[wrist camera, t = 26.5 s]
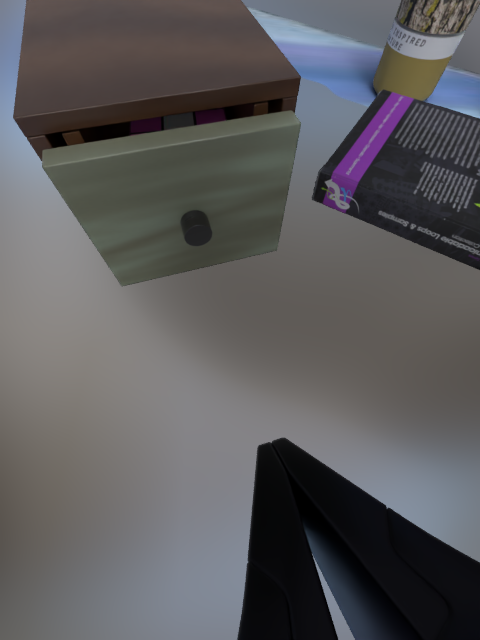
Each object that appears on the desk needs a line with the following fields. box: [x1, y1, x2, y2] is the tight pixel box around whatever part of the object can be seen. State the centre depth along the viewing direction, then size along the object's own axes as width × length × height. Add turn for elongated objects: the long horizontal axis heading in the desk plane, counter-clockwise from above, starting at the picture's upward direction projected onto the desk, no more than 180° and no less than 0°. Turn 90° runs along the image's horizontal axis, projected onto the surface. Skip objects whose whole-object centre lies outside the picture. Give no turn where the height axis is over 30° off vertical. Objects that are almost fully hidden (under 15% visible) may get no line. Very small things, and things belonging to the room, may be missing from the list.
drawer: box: [42, 101, 301, 286], centre depth 19 cm, size 15×11×9 cm
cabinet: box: [13, 0, 301, 161], centre depth 20 cm, size 15×13×11 cm
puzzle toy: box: [129, 107, 227, 136], centre depth 19 cm, size 6×6×6 cm
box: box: [312, 89, 480, 270], centre depth 23 cm, size 14×4×20 cm
